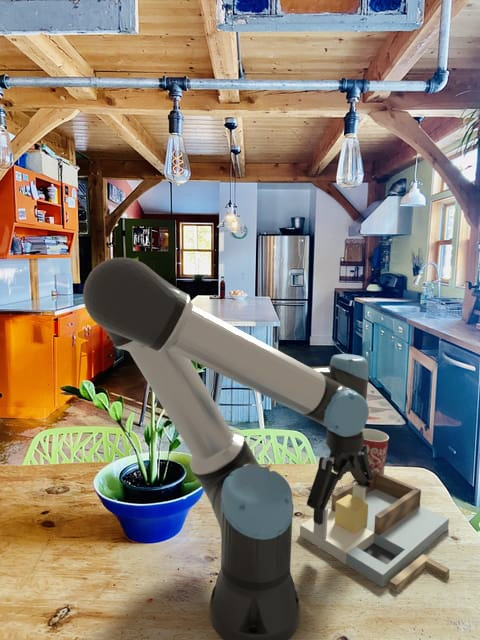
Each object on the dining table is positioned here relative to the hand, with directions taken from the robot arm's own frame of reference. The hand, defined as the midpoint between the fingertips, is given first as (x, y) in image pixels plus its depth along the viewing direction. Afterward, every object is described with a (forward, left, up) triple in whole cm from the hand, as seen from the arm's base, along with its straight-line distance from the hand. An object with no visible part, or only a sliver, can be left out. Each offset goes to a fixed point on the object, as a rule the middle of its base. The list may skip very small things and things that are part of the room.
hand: (339, 524), depth 91 cm
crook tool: (+2, -17, -4) cm, 18 cm away
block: (+4, 0, -1) cm, 4 cm away
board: (+9, -3, -4) cm, 10 cm away
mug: (+27, +12, -4) cm, 30 cm away
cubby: (+14, 0, -1) cm, 14 cm away
